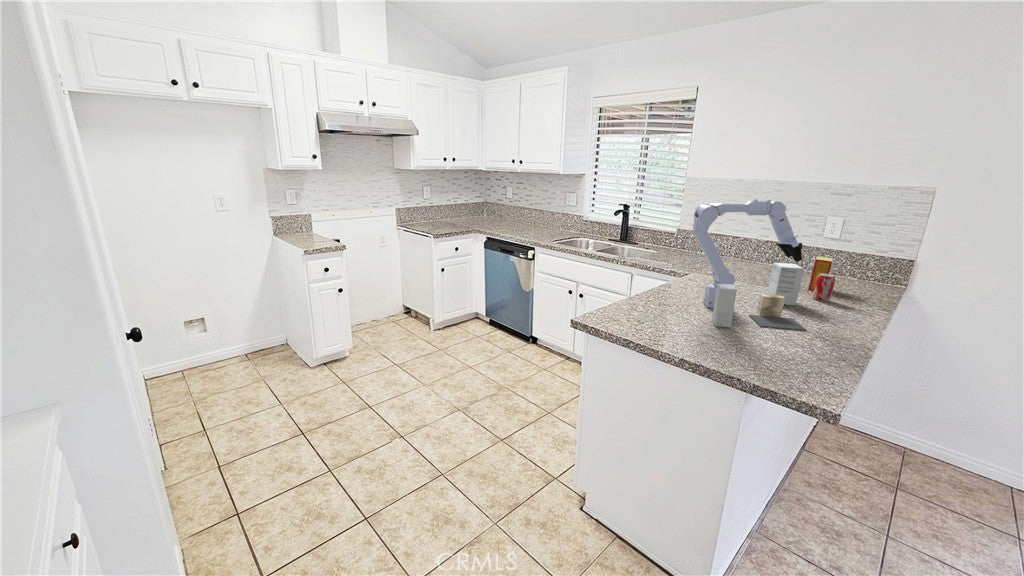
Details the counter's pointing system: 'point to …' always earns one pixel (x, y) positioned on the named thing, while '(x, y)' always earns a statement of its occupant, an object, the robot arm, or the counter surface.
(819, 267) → the baking soda box
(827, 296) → the soda can
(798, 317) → the counter surface
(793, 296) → the supplement box
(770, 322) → the mat
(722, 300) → the skincare box
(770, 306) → the maple slab
